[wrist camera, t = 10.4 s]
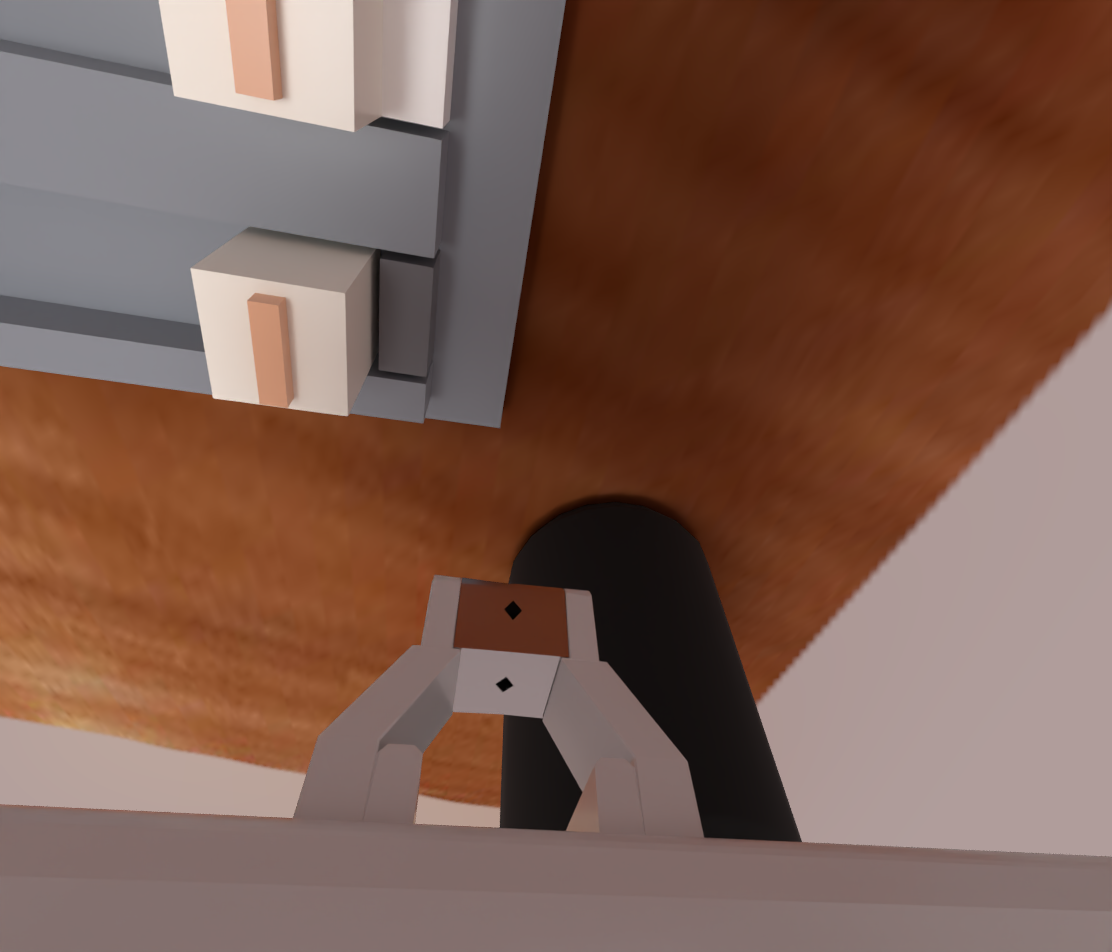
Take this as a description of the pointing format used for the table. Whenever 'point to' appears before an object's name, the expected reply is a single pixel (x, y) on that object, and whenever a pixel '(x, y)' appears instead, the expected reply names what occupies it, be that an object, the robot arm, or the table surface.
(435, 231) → the switch bank
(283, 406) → the tab
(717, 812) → the coffee jar
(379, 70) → the tab
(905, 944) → the robot arm
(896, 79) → the table surface
